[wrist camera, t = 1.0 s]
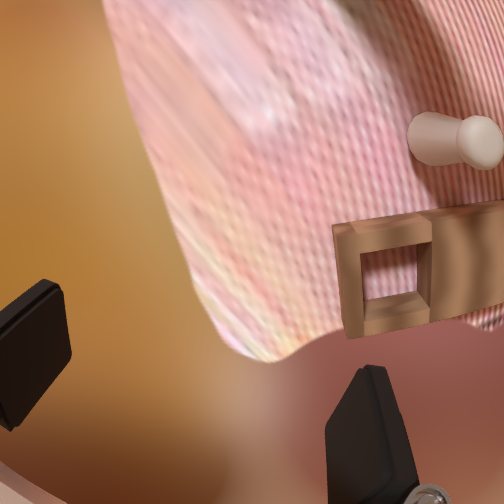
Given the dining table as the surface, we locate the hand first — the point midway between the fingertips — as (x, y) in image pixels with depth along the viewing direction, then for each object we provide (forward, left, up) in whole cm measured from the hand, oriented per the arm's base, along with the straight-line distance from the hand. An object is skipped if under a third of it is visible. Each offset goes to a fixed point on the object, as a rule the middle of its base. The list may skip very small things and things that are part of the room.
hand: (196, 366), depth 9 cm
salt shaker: (-16, +11, -27) cm, 33 cm away
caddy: (-6, +21, -26) cm, 34 cm away
